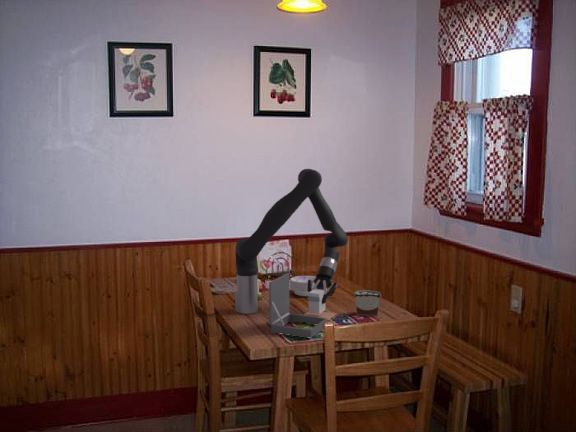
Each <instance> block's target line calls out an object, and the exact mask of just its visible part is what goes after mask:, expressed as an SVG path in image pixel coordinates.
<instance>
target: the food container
mask: <svg viewBox="0 0 576 432" xmlns="http://www.w3.org/2000/svg"><path fill="white" fill-rule="evenodd" d="M353 298H354V299H355V300H354V301H355V312H356V316H379V307H380V301H381V298H382V294H381V292H379V291H376V290H370V289H365V290H364V289H362V290H357V291H355V292H354V294H353Z"/></svg>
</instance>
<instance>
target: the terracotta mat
mask: <svg viewBox="0 0 576 432" xmlns="http://www.w3.org/2000/svg"><path fill="white" fill-rule="evenodd" d="M303 315H306V316H313V317H320V318H327V320H329V321H331V320H332V319H333V318H335V317H336V316H337V315H338V313H334V312H327V311H323V312H322V313H320V314H314V313H309V310H308V311H307V312H305V313H304V314H303ZM335 315H336V316H335ZM332 317H333V318H332ZM331 318H332V319H331ZM330 319H331V320H330Z"/></svg>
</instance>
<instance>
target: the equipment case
mask: <svg viewBox="0 0 576 432" xmlns="http://www.w3.org/2000/svg"><path fill="white" fill-rule="evenodd" d="M268 284H269V285H268V286H269V287H268V289H269V290H268V293H269V295H268V297H269V299H268V303H269V305H268V306H269V307H268V310H269V313H268V314H269V316H268V317H269V318H268V319H269V322H268V323H269V325H270V332H271V333H270V334H274V333H283V334H289V335H295V336H303V337H312V336H314V335H315V334H317V333H318V332H319V331H321V330H322V328H323V324H324V323H326V322H327V318H320V317H313V316H306V315H304V314H299V313H298V314H297V313H291V312H290V272H287V273H285V274H282V275H281V276H279V277H278V278H275V279H273V280H270V281H269V282H268ZM290 321H293V322H292V323H295V322H305V323H310V324H317V325H314V326H313V327H311V329H307V328H299V327H293V326H287V324H286V323H288V322H289V323H291V322H290ZM289 323H288V324H289ZM327 323H328V322H327ZM285 324H286V325H285ZM284 325H285V326H284ZM322 331H323V330H322ZM322 331H321V332H322ZM318 334H319V333H318ZM318 334H317V335H318Z"/></svg>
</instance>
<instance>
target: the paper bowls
mask: <svg viewBox="0 0 576 432" xmlns="http://www.w3.org/2000/svg"><path fill="white" fill-rule="evenodd" d="M315 278H316V276H311V275H296V276H292V277H291V278H289V290H291V291H293V292H294V294H295V295H296V296H299V297H308V296H309V292H308V291H307V288H308V280H311V281H312V280H314V279H315ZM314 285H315V283H314V284H313V286H312V289H313V287H314Z"/></svg>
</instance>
